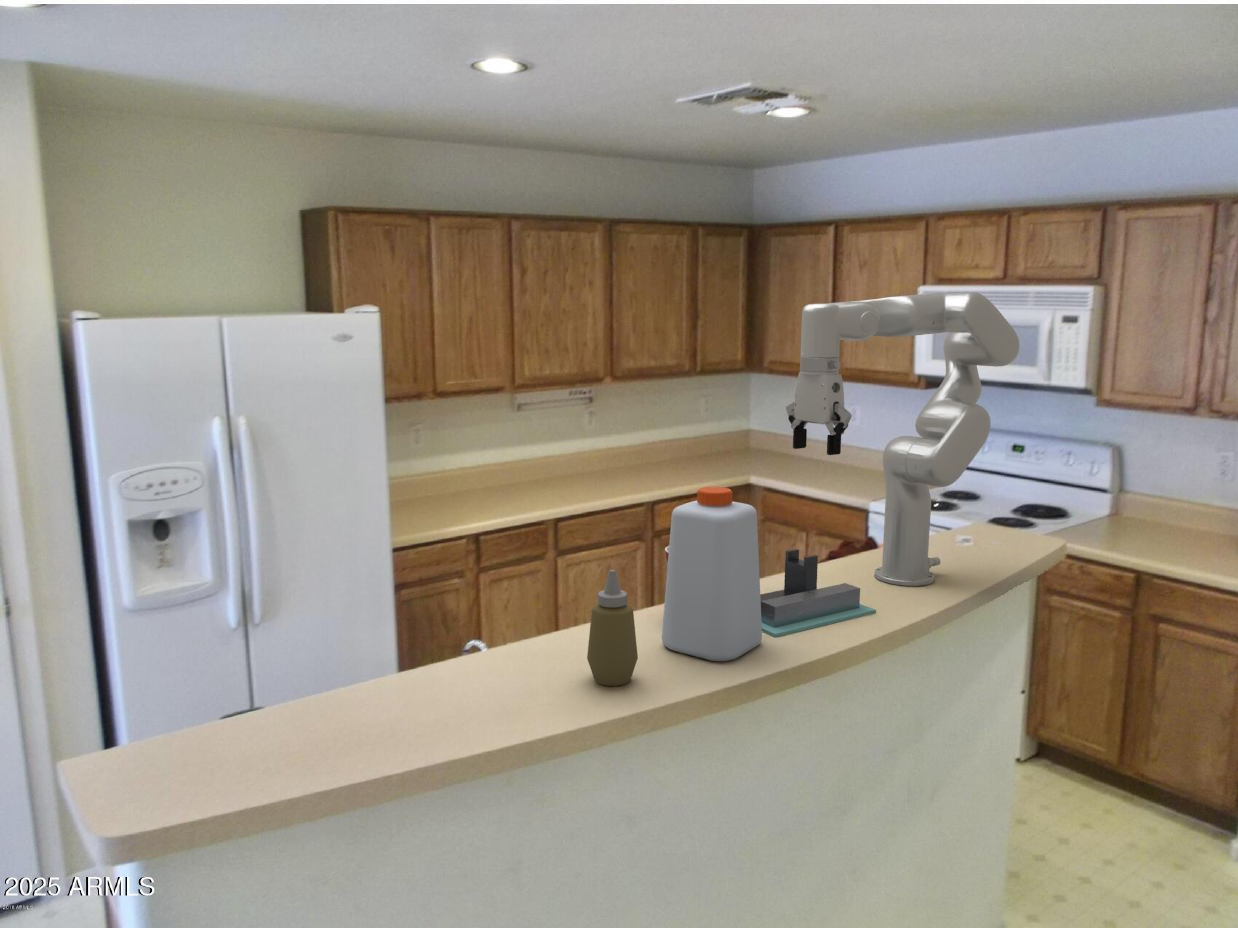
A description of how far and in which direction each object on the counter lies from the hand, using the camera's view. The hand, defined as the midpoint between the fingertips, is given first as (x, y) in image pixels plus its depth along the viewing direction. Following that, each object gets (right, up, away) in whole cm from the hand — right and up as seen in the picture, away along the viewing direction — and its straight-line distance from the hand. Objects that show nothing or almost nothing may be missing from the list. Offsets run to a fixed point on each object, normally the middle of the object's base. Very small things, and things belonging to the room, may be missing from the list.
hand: (816, 451), depth 182 cm
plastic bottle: (-23, -35, -23) cm, 48 cm away
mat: (-3, -32, -9) cm, 33 cm away
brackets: (-9, -31, +1) cm, 32 cm away
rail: (-3, -32, -9) cm, 33 cm away
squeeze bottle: (-41, -37, -38) cm, 67 cm away
